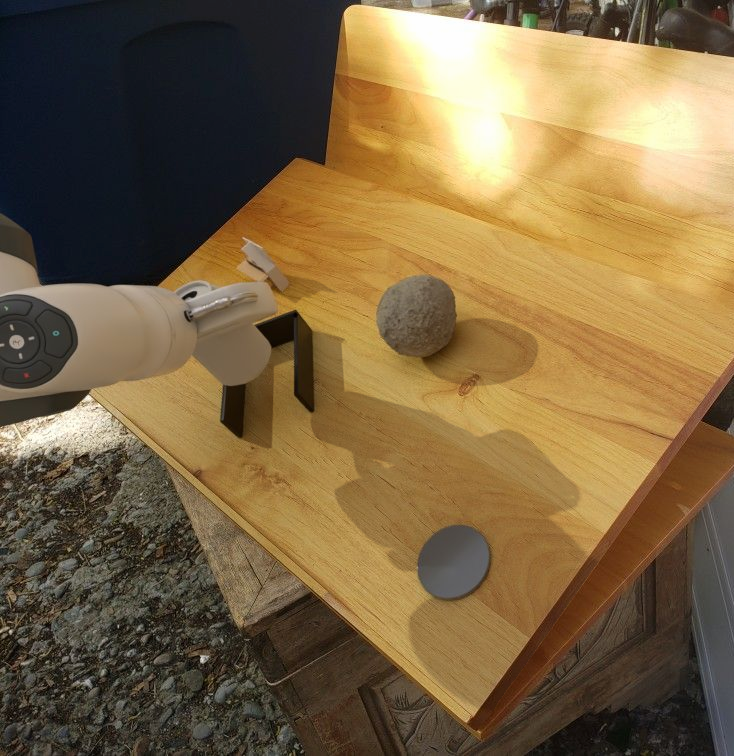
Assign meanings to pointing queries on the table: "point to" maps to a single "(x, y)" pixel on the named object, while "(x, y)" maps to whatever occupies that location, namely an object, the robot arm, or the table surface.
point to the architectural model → (261, 266)
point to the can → (229, 346)
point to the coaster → (454, 562)
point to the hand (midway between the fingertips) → (214, 326)
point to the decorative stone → (417, 315)
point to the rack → (301, 333)
